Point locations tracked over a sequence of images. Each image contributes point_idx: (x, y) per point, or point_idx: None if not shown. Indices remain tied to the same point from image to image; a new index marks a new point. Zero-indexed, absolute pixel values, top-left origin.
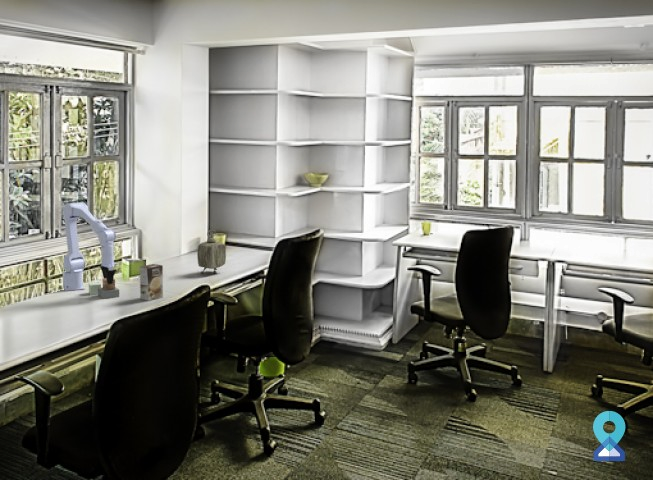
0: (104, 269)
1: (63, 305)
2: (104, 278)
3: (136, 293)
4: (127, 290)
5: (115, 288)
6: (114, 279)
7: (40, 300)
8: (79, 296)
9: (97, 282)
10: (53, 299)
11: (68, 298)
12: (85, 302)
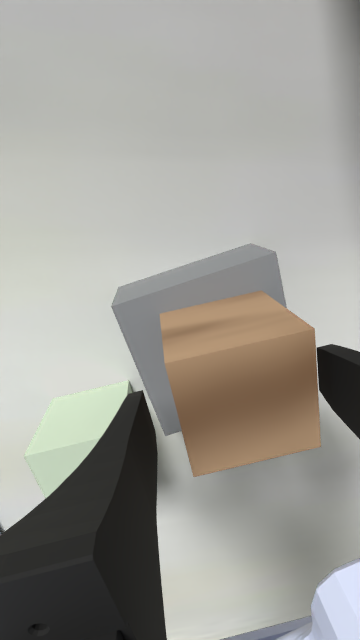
0: (153, 585)
1: (347, 530)
2: (211, 455)
3: (151, 63)
4: (9, 162)
5: (215, 289)
6: (308, 335)
7: (216, 621)
8: (171, 492)
9: (33, 466)
10: (210, 584)
11: (207, 533)
12: (327, 447)
